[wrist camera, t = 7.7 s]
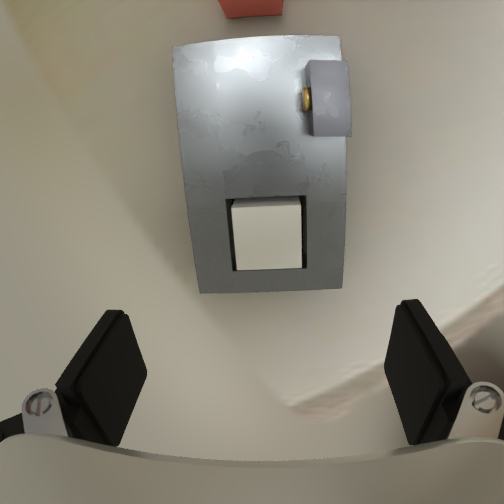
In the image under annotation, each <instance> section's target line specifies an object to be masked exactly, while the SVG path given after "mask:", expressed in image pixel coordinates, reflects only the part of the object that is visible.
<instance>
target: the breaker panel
mask: <svg viewBox="0 0 504 504" xmlns="http://www.w3.org/2000/svg"><path fill="white" fill-rule="evenodd" d="M172 54H173V70H174V84H175V97H176V109H177V120H178V131H179V141H180V151H181V160H182V169H183V178H184V186H185V194H186V202H187V210H188V218H189V225H190V232H191V239H192V246H193V253H194V260H195V266H196V273H197V279H198V285H199V291H200V293H241V292H273V291H298V290H319V289H338V288H342V281H343V265H344V246H345V218H346V137H351V108H350V89H349V74H348V61H341V50H340V39H339V36H319V35H285V36H261V37H246V38H235V39H225V40H216V41H208V42H201V43H194V44H188V45H182V46H176V47H172ZM296 195H303V233H304V253H302V268H287V269H261V270H237V264H236V254H235V243H234V233H233V222H232V211H231V207H232V206H231V199H233V198H251V197H271V196H296Z"/></svg>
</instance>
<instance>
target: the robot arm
mask: <svg viewBox="0 0 504 504" xmlns="http://www.w3.org/2000/svg"><path fill="white" fill-rule="evenodd" d="M384 370H385V374H386V377H387V380H388V383H389V385H390V388H391V391H392V394H393V397H394V400H395V403H396V406H397V409H398V412H399V415H400V418H401V421H402V424H403V428H404V431H405V434H406V437H407V440H408V443H409V445H413V446H410V447H404V448H399V449H393V450H387V451H381V452H374V453H367V454H360V455H353V456H344V457H336V458H335V457H334V458H324V459H310V460H293V461H231V460H229V461H228V460H211V459H199V458H188V457H177V456H169V455H161V454H154V453H147V452H141V451H135V450H129V449H124V448H119V447H117V446H118V445H119V444H120V442H121V439H122V437H123V434H124V431H125V429H126V426H127V424H128V421H129V419H130V416H131V414H132V411H133V409H134V406H135V404H136V401H137V399H138V396H139V394H140V392H141V389H142V387H143V384H144V382H145V380H146V377H147V369H146V366H145V363H144V360H143V358H142V355H141V352H140V349H139V346H138V344H137V340H136V337H135V334H134V331H133V328H132V325H131V322H130V319H129V316H128V315H127V314H124V312H123V311H122V310H107V311H106V312H105V313H104V314H103V316H102V317H101V319H100V320H99V321H98V323H97V324H96V325H95V327H94V328H93V330H92V331H91V333H90V334H89V335H88V337H87V338H86V339H85V341H84V342H83V344H82V345H81V347H80V348H79V350H78V351H77V353H76V354H75V356H74V357H73V359H72V360H71V361H70V363H69V364H68V366H67V367H66V369H65V370H64V372H63V373H62V375H61V377H60V378H59V379H58V381H57V383H56V384H55V385H56V387H57V389H56V390H55V392H54V391H53V390H51V389H48V388H47V389H46V388H42V389H37V390H35V391H33V392H31V393H30V394H29V395H28V396H27V397H26V398H25V399H24V401H23V403H22V413H20V414H18V415H16V416H13V417H11V418H8V419H6V420H3V421H1V422H0V504H504V394H503V392H502V391H501V389H499V388H498V387H497V386H496V385H494V384H491V383H488V382H477V383H474V384H472V382H471V381H470V379H469V377H468V376H467V374H466V372H465V370H464V368H463V367H462V365H461V364H460V362H459V360H458V358H457V357H456V355H455V353H454V352H453V350H452V348H451V347H450V345H449V344H448V342H447V340H446V339H445V337H444V336H443V335H442V334H441V333H440V331H439V330H438V328H437V326H436V325H435V323H434V322H433V320H432V319H431V317H430V316H429V314H428V313H427V311H426V310H425V308H424V307H423V305H422V304H421V302H420V301H419V300H418V299H412V300H403V301H402V302H401V304H400V305H397V307H396V310H395V315H394V321H393V326H392V331H391V336H390V340H389V345H388V349H387V354H386V358H385V363H384Z"/></svg>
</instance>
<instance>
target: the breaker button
mask: <svg viewBox="0 0 504 504" xmlns="http://www.w3.org/2000/svg"><path fill="white" fill-rule="evenodd" d="M231 211H232V222H233V233H234V243H235V254H236V264H237V270H261V269H287V268H302V239H301V204H300V201H299V198H298V195H296V196H271V197H251V198H235V200H234V203H233V205H232V207H231Z"/></svg>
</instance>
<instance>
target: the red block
mask: <svg viewBox="0 0 504 504" xmlns="http://www.w3.org/2000/svg"><path fill="white" fill-rule="evenodd" d="M218 1H219V3H220V5H221V7H222V9H223V11H224V13H225V15H226V18H236V17H248V16H263V15H282V7H283V0H218Z"/></svg>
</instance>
